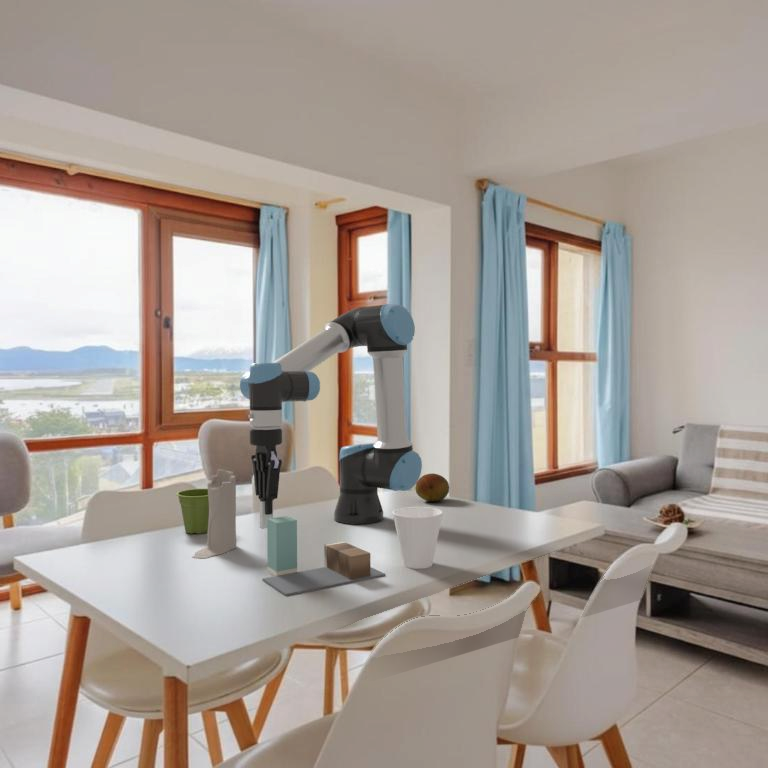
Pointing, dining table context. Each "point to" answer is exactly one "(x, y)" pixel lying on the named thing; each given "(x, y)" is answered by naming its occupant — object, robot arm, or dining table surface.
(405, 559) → the cup
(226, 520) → the grey boot
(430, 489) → the fruit
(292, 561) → the teal pillar
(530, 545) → the dining table surface
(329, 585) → the slate mat
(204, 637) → the dining table surface
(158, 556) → the dining table surface
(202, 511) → the plant pot
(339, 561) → the walnut pillar
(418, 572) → the dining table surface
